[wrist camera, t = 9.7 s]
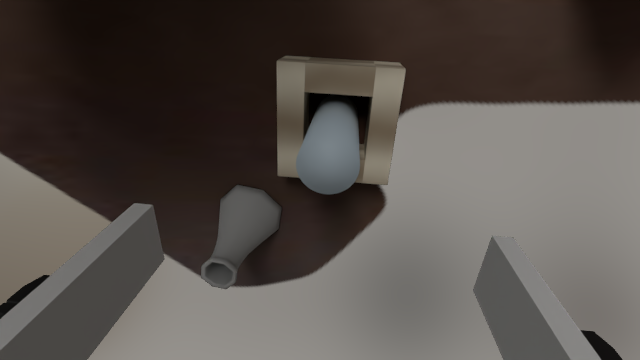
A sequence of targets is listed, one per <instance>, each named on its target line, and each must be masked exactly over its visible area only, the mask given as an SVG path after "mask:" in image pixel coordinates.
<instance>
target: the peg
mask: <svg viewBox="0 0 640 360" xmlns="http://www.w3.org/2000/svg"><path fill="white" fill-rule="evenodd" d="M296 169H297V173H298V175H299V178H300V179H301V181H302V182H303V183H304V184H305V185H306V186H307V187H308V188H310V189H311V190H313V191H315V192H318V193H321V194H336V193H340V192H342V191H345V190H346V189H348V188H349V187H350V186H351V185H352V184H353V183H354V182H355V181H356V179H357V177H358V174H359V170H360V154H359V129H358V111H357V108H356V106H355V104H354V103H353V101H352V100H351V99H349V98H348V97H346V96H343V95H337V94H336V95H330V96H328V97H326V98H324V99H323V100H322V101H321V102H320V104H319V105H318V107H317V110H316V112H315V114H314V117H313V119H312V122H311V124H310V126H309V129H308V131H307V134H306V136H305V138H304V141H303V143H302V146H301V148H300V150H299V153H298V155H297V159H296Z"/></svg>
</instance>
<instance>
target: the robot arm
mask: <svg viewBox="0 0 640 360" xmlns="http://www.w3.org/2000/svg"><path fill="white" fill-rule="evenodd" d="M163 260H164V255H163V250H162V245H161V241H160V236H159V231H158V227H157V222H156V217H155V212H154V208H153V205H149V204H137V203H134V204H133V205H132V206H130V207H129V208H128V209H127V210H126V211H125V212H124V213H122V214H121V215H120V216H119V217H118V218H117V219H115V220H114V221H113V222H112V223H111V224H110V225H109V226H107V227H106V228H105V229H104V230H103V231H102V232H100V233H99V234H98V235H97V236H96V237H95V238H94V239H92V240H91V241H90V242H89V243H88V244H87V245H85V246H84V247H83V248H82V249H81V250H80V251H78V252H77V253H76V254H75V255H74V256H73V257H72V258H70V259H69V260H68V261H67V262H66V263H65V264H63V265H62V266H61V267H60V268H59V269H58V270H57V271H55V272H54V273H53V274H52V275H51V276H49V275H43V276H42V277H40V278H38V279H36V280H34V281H33V282H31V283H29V284H27V285H25V286H24V287H22V288H21V289H20V290H19V291H17V292H16V293H15V294H14V295H13V296H11V297H10V298H9V299H8V300H7V302H6V303H3V304H2V305H0V360H87V359H88V358H89V357H90V355H91V354H92V353H93V351H94V350H95V349H96V348H97V346H98V345H99V344H100V342H101V341H102V340H103V338H104V337H105V336H106V335H107V333H108V332H109V331H110V329H111V328H112V327H113V325H114V324H115V323H116V322H117V320H118V319H119V317H120V316H121V315H122V314H123V312H124V311H125V310H126V309H127V307H128V306H129V305H130V303H131V302H132V301H133V299H134V298H135V297H136V296H137V294H138V293H139V292H140V290H141V289H142V288H143V286H144V285H145V284H146V282H147V281H148V280H149V279H150V277H151V276H152V275H153V273H154V272H155V271H156V270H157V268H158V267H159V265H160V264H161V263H162V262H163ZM473 291H474V293H475V296H476V298H477V300H478V302H479V305H480V307H481V309H482V312H483V314H484V316H485V319H486V321H487V323H488V325H489V328H490V330H491V332H492V335H493V337H494V339H495V341H496V344H497V346H498V348H499V351H500V353H501V355H502V357H503V359H504V360H622V358H621V357H620V356H619V355H618V353H617V352H616V351H615V349H614V348H613V347H611V346H610V345H609V344H608V343H607V342H605V341H604V340H603V339H602V338H601V337H599V336H598V335H597V334H596V333H595V332H593V331H582V330H580V329H579V328H578V327H577V325H576V324H575V322H574V321H573V320H572V318H571V317H570V316H569V314H568V313H567V311H566V310H565V309H564V307H563V306H562V304H561V303H560V302H559V300H558V299H557V298H556V296H555V295H554V293H553V292H552V291H551V289H550V288H549V286H548V285H547V284H546V282H545V281H544V279H543V278H542V277H541V275H540V274H539V273H538V271H537V270H536V268H535V267H534V266H533V264H532V263H531V262H530V260H529V259H528V257H527V256H526V254H525V253H524V252H523V250H522V249H521V248H520V246H519V245H518V243H517V242H516V241H515V239H514V238H513V237H501V236H492V238H491V241H490V243H489V246H488V249H487V252H486V255H485V258H484V261H483V263H482V266H481V269H480V272H479V275H478V277H477V280H476V283H475V286H474V289H473Z"/></svg>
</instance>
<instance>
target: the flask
mask: <svg viewBox="0 0 640 360" xmlns="http://www.w3.org/2000/svg"><path fill="white" fill-rule="evenodd" d="M281 211H282V207H281V206H280V205H278V204H277V203H276V202H275V201H274V200H273V199H272V198H271V197H270V196H269V195H268V194H267V193H266V192H265V191H264V190H260V189H255V188H251V187H246V186H241V185H236V186H235V187H234V188H233V189H232V190H231V191H230V192H228V193H227V194H226V195H225V196H224V197H223V198H222V199H221V200H220V216H219V230H218V239H217V243H216V246H215V249H214V252H213V254H212V256H211V258H210V259H209V260H208V261H206V262H205V263H204V264H203V265H202V267H201V278H202V279H204V280H205V281H206V282H207V283H209V284H210V285H211V286H213V287H218V288H223V289H227V288H229V287H230V286H231V285H233V284H234V283H235V282H236V279H237V270H238V268H239V266H240V264H241V263H242V262H243V261H244V259H245V258H246V257H247V255H248V254H249V253H250V252H251V251H253V250H254V249H255V248H256V247H257V246H258V245H259V244H261V243H262V242H263V241H264V240H265V239H267V238H268V237H269V236H271V235H272V234H273V233H274V232H275V231H277V230H278V229H279V224H280V217H281Z"/></svg>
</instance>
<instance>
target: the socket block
mask: <svg viewBox="0 0 640 360" xmlns="http://www.w3.org/2000/svg"><path fill="white" fill-rule="evenodd" d="M405 72H406V69H405V68H404V67H403V66H402V65H401V64H400V63H396V62H380V61H364V60H348V59H332V58H316V57H300V56H284V57H283V58H281V59H279V60H277V150H278V176H285V177H297V178H299V175H298V173H297V169H296V159H297V155H298V153H299V150H300V148H301V146H302V143H303V141H304V138H305V136H306V134H307V131H308V129H309V102H310V93H325V94H339V95H354V96H369V103H368V112H367V121H366V129H365V138H364V144H359V154H360V170H359V174H358V177H357V179H356V181H355V182H356V183H368V184H380V185H387V184H388V178H389V172H390V166H391V159H392V153H393V146H394V141H395V134H396V128H397V122H398V116H399V109H400V103H401V97H402V90H403V84H404V78H405Z"/></svg>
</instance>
